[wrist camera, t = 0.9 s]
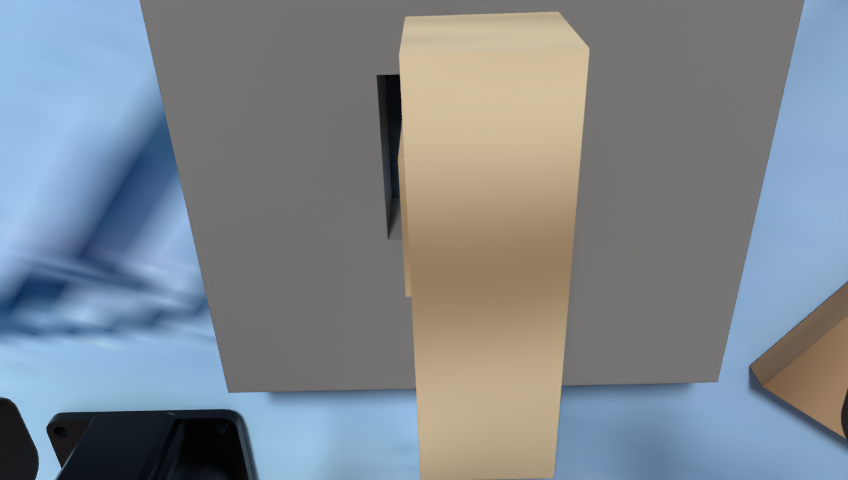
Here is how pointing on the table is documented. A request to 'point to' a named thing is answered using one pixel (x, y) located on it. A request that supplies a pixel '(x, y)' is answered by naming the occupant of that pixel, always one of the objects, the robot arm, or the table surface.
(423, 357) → the t key
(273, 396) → the table surface
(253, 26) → the keyhole plate
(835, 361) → the walnut pad
